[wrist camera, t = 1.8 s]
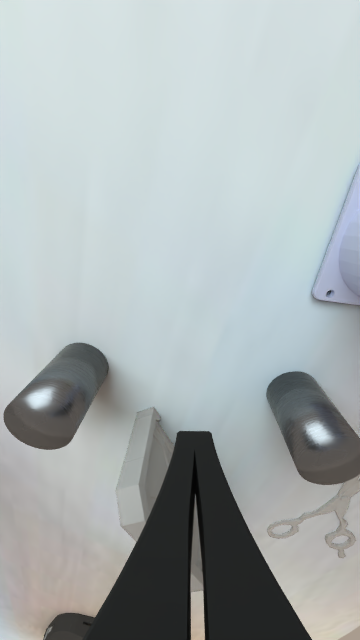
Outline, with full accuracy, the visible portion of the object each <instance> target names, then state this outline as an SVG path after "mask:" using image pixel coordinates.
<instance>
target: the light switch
mask: <svg viewBox="0 0 360 640" xmlns="http://www.w3.org/2000/svg"><path fill="white" fill-rule="evenodd" d="M160 418H161V417H160V415H159V414H158V412H157V411H156V409H155V408H154V407H152V408H149V409H146V410H143V411H140V412H137V416H136V419H135V423H134V427H133V430H132V434H131V437H130V441H129V445H128V448H127V452H126V455H125V459H124V463H123V466H122V470H121V473H120V477H119V481H118V484H117V488H116V495H117V503H118V510H119V517H120V524H121V527H122V528H123V529H124V530H125V531H126V532H127V533H128V534H129V535H130V536H131V537H132V538H133V539H134V540H135V541H136V542H137V540H138V538H139V536H140V534H141V532H142V530H143V528H144V526H145V524H146V521H147V519H148V517H149V515H150V513H151V510H152V508H153V506H154V503H155V501H156V498H157V496H158V494H159V491H160V489H161V486H162V484H163V481H164V478H165V475H166V472H167V470H168V467H169V464H170V461H171V457H172V454H173V451H174V445H173V444H172V442H171V441H170V439H169V438H168V436H167V435H166V433H165V432H164V430H163V429H162V427H161V426H160V424H159V423H158V421H160ZM196 591H203V572H202V559H201V548H200V538H199V527H198V516H197V505H196V495H195V507H194V524H193V541H192V558H191V592H196Z"/></svg>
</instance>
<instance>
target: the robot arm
mask: <svg viewBox="0 0 360 640" xmlns="http://www.w3.org/2000/svg"><path fill="white" fill-rule="evenodd" d="M329 290H331V294H330V295H328V296H326V293H327V292H328V291H329ZM312 295H313V297H314V298H316V299H318V300H323V301H330V302H338V303H345V304H353V305H360V164H359V166H358V169H357V172H356V174H355V177H354V180H353V182H352V185H351V188H350V190H349V193H348V196H347V198H346V201H345V204H344V207H343V209H342V212H341V215H340V217H339V220H338V223H337V225H336V228H335V231H334V233H333V236H332V239H331V242H330V244H329V247H328V250H327V252H326V255H325V258H324V260H323V263H322V266H321V268H320V271H319V274H318V277H317V279H316V282H315V285H314V287H313V290H312ZM195 495H196V505H197V516H198V527H199V538H200V548H201V559H202V572H203V591H204V622H205V640H312V639H311V637H310V636H309V634H308V633H307V631H306V629H305V628H304V626H303V624H302V623H301V621H300V619H299V618H298V616H297V614H296V613H295V611H294V609H293V608H292V606H291V604H290V603H289V601H288V599H287V597H286V596H285V594H284V592H283V591H282V589H281V587H280V586H279V584H278V582H277V581H276V579H275V577H274V575H273V574H272V572H271V570H270V568H269V566H268V564H267V563H266V561H265V559H264V557H263V555H262V554H261V552H260V550H259V548H258V546H257V544H256V542H255V540H254V538H253V536H252V534H251V533H250V531H249V529H248V527H247V524H246V522H245V520H244V518H243V516H242V514H241V512H240V510H239V508H238V506H237V503H236V501H235V499H234V497H233V494H232V492H231V490H230V487H229V485H228V482H227V480H226V478H225V475H224V473H223V470H222V467H221V465H220V462H219V459H218V456H217V453H216V450H215V446H214V443H213V439H212V434H211V433H210V432H209V431H179V432H178V433H177V438H176V443H175V447H174V451H173V454H172V457H171V461H170V464H169V467H168V470H167V472H166V475H165V478H164V481H163V484H162V486H161V489H160V491H159V494H158V496H157V498H156V501H155V503H154V506H153V508H152V510H151V513H150V515H149V517H148V519H147V521H146V524H145V526H144V528H143V530H142V532H141V534H140V536H139V538H138V540H137V542H136V544H135V546H134V548H133V550H132V552H131V554H130V556H129V558H128V560H127V562H126V564H125V566H124V568H123V570H122V571H121V573H120V575H119V577H118V579H117V581H116V582H115V584H114V586H113V588H112V590H111V591H110V593H109V595H108V597H107V598H106V600H105V602H104V604H103V605H102V607H101V609H100V610H99V612H98V614H97V616H96V617H95V619H94V621H93V622H92V624H91V626H90V627H89V629H88V631H87V633H86V634H85V636H84V638H83V639H82V640H191V558H192V541H193V524H194V507H195Z"/></svg>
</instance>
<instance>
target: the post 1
mask: <svg viewBox="0 0 360 640" xmlns="http://www.w3.org/2000/svg"><path fill="white" fill-rule="evenodd" d="M107 373H108V362H107V360H106V358H105V356H104V355H103V354H102V353H101V352H100V351H99V350H98V349H97V348H95V347H93V346H91V345H89V344H85V343H73V344H70V345H68V346H66V347H65V348H64V349H62V351H61V352H60V353H59V354H58V355H57V356H56V357H55V358H54V359H53V360H52V361H51V362H50V363H49V364H48V365H47V366H46V367H45V368H44V369H43V370H42V371H41V372H40V373H39V374H38V375H37V376H36V377H35V378H34V379H33V380H32V381H31V382H30V383H29V384H28V385H27V386H26V387H25V388H24V389H23V390H22V391H21V392H20V393H19V395H18V396H17V397H16V398H15V399H14V400H13V401H12V402H11V403H10V404H9V405H8V406H7V407H6V409H5V411H4V422H5V425H6V427H7V428H8V430H9V431H10V432H11V434H12V435H13V436H15V437H16V438H17V439H18V440H20V441H21V442H23V443H25V444H27V445H29V446H32V447H35V448H39V449H46V450H52V449H58V448H62V447H64V446H66V445H67V444H69V443H70V442H71V440H72V439H73V437H74V435H75V433H76V431H77V429H78V427H79V426H80V424H81V422H82V420H83V418H84V416H85V414H86V412H87V411H88V409H89V407H90V405H91V403H92V401H93V399H94V398H95V396H96V394H97V392H98V390H99V388H100V386H101V385H102V383H103V381H104V379H105V377H106V375H107Z"/></svg>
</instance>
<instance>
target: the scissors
mask: <svg viewBox="0 0 360 640" xmlns="http://www.w3.org/2000/svg"><path fill="white" fill-rule="evenodd" d="M359 476H360V475H358V476H357V477H355V478H353V479H351V480H349V481H346V482H344V483H343V485H342V487H341V489H340V490H339V492H338V494H337V496H335V497H334V498H332V499H331V500H330V501H328V502H327V503H326V504H325V505H323V506H322V507H320V508H319V509H317V510H316V511H313V512H309V513H304V514H303V515H302V516H301V517H299V518H298V519H291V520H281V521H278V522H275V523H273V524H271V525H270V526H269V527H268V529H267V532H268V534H269V536H270V537H272V538H278V539H280V538H287V537H289V536H292V535H294V534H295V533H297V532H298V527H297V525H298V524H300V523H302V522H303V521H304V520H306V519H308V518H311V517H314V516H318V515H322V514H326V513H330V512H333V511H336V513H337V515H338V517H339V519H340V526H339V527H338V528H337V529H336V531H334V532H331V533H329V534H326V537H325V540H326V542H327V544H328V546H329V547H331V548H333V549H338V550H339V552H338V556H339V558H344V557H345V554H344V549H346V548H348V547H350V546H352V545H353V544H354V543H355V541H356V539H355V537H354V535H353V533H352V532H350V531H348V530H346V529H345V528H346V526H347V525H348V523H347V521H346V520H345V519H343V516H344V514H345V513H346V511H347V509H348V507H349V502H350V498H351V497H352V496H353V495H355V494H356V493H357V492H359V491H360V480H359V481H358V478H359ZM284 524H286V525H291V526H292V528H291V529H290V530H289V531H288V532H286V533H284V534H280V535H279V534H274V533H272V532H271V530H272V529H273V528H274V527H276V526H279V525H284ZM341 535H344V536H348V537H349V539H348V540H347V541H346V542H345V543H342V544H334V543H331V541H332V540H333V539H334V538H335V537H338V536H341Z"/></svg>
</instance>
